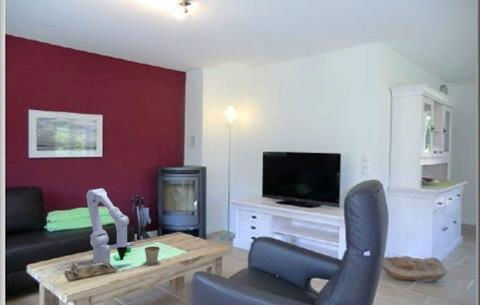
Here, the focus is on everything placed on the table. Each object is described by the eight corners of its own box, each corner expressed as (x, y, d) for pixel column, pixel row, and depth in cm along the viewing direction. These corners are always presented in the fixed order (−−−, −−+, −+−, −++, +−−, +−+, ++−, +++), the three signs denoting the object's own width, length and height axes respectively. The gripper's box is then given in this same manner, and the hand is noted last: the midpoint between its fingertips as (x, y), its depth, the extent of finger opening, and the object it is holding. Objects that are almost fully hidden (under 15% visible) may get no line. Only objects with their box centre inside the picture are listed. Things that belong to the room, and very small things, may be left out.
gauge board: (109, 264, 209) (109, 255, 208) (116, 272, 197) (116, 262, 197) (64, 273, 195) (64, 263, 195) (69, 281, 183) (69, 271, 183)
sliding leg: (107, 263, 206) (107, 258, 206) (111, 267, 199) (111, 262, 199) (102, 264, 204) (102, 258, 204) (106, 268, 197) (106, 263, 197)
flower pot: (158, 259, 221) (158, 245, 220) (160, 264, 212) (161, 250, 212) (143, 260, 217) (143, 246, 217) (144, 265, 208) (145, 251, 208)
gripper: (111, 240, 201) (110, 263, 201) (136, 236, 209) (135, 259, 210) (107, 237, 207) (107, 260, 207) (132, 234, 215) (132, 255, 215)
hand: (121, 259), depth 209 cm, fingers closed
